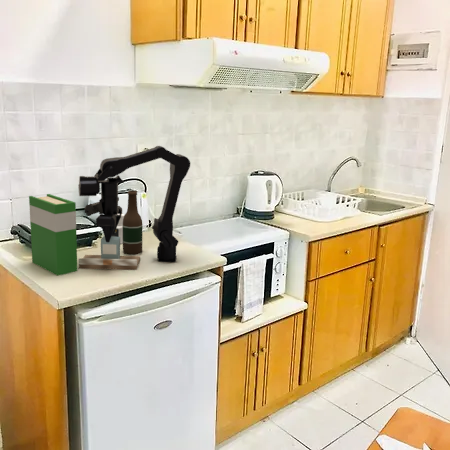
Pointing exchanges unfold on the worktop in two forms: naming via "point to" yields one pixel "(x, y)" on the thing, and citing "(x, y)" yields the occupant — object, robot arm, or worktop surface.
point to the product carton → (110, 248)
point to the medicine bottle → (119, 229)
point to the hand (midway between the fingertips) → (109, 238)
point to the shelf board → (109, 262)
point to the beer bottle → (132, 227)
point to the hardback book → (53, 234)
